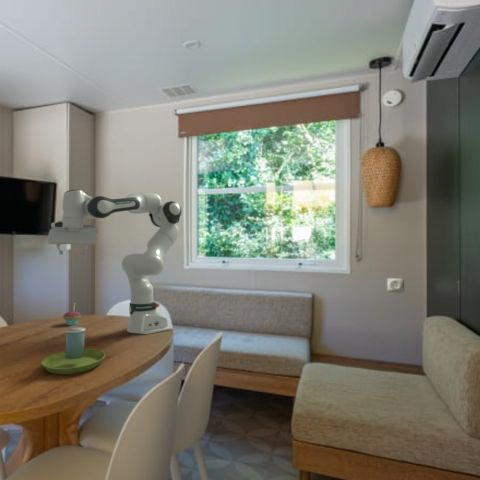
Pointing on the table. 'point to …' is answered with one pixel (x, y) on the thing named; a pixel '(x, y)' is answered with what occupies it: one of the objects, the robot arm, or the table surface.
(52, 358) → the saucer
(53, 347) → the table surface
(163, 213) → the robot arm
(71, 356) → the beaker
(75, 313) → the cupcake
